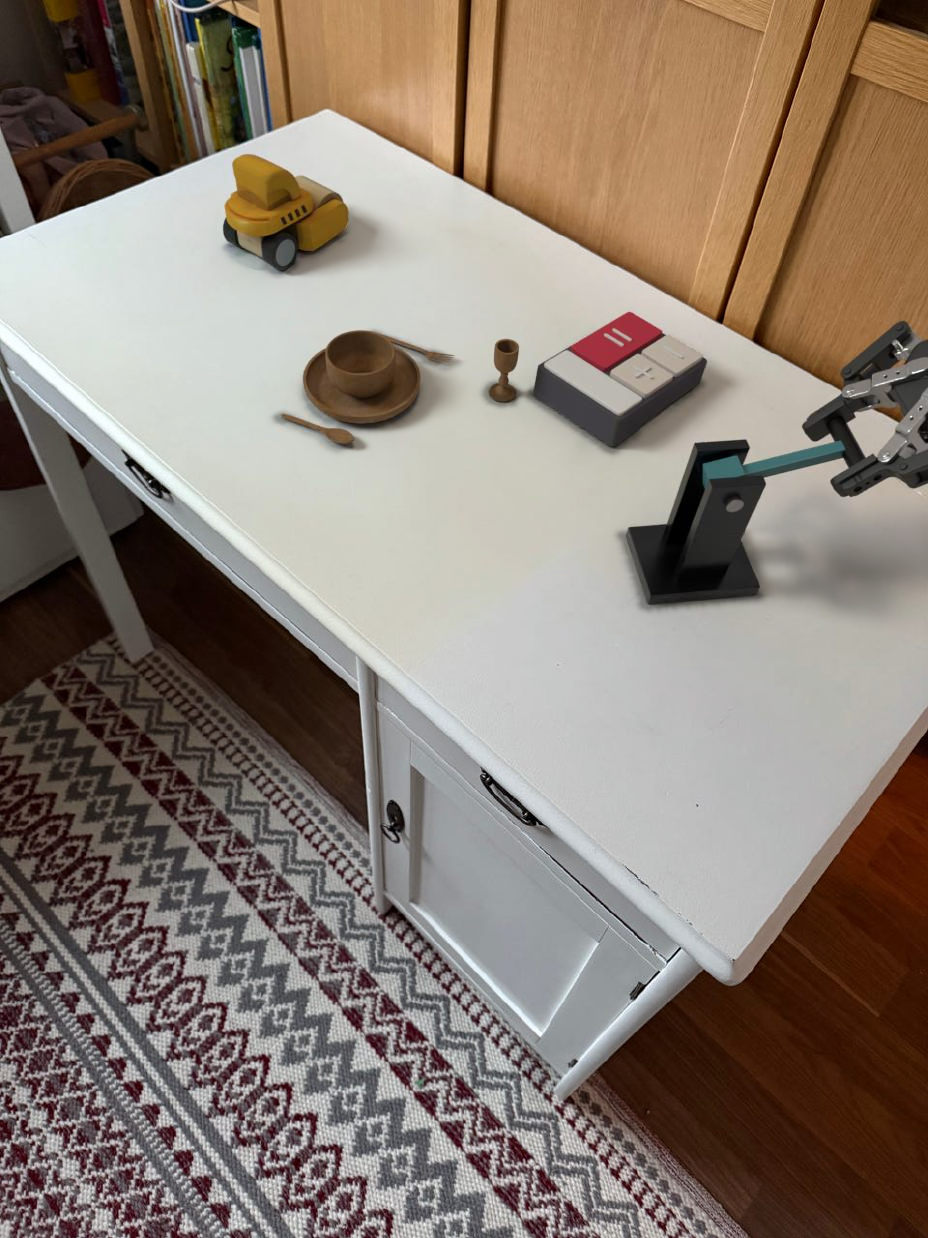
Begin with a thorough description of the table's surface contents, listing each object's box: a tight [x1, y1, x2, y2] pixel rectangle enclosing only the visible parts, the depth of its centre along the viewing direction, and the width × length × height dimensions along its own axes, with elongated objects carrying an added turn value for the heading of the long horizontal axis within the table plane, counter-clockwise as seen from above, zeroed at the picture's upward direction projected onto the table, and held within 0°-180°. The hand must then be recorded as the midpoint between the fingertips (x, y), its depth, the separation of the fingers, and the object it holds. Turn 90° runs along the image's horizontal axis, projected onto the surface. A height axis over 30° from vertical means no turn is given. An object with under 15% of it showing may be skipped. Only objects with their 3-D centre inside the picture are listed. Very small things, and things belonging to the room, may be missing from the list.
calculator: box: [532, 311, 708, 448], centre depth 94 cm, size 11×4×15 cm
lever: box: [703, 417, 867, 489], centre depth 73 cm, size 12×6×2 cm, turn 97°
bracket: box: [625, 438, 767, 605], centre depth 77 cm, size 10×8×13 cm
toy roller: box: [222, 153, 350, 271], centre depth 104 cm, size 9×14×10 cm, turn 142°
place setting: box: [280, 329, 520, 445], centre depth 90 cm, size 18×20×6 cm
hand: (821, 460), depth 73 cm, fingers closed on lever, 5 cm apart
